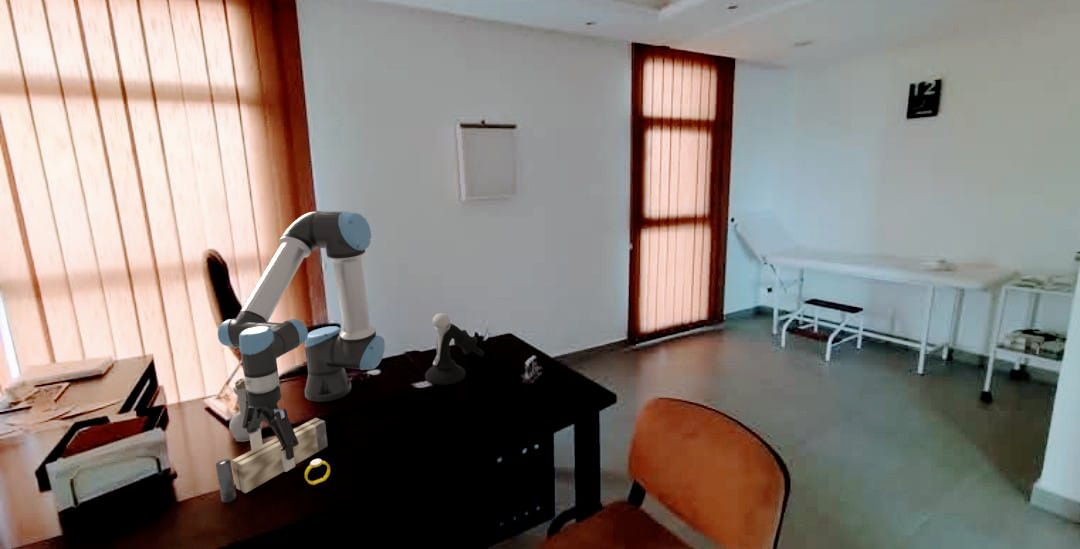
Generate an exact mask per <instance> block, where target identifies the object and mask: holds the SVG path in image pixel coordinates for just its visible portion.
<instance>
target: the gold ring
mask: <svg viewBox="0 0 1080 549" xmlns="http://www.w3.org/2000/svg"><path fill="white" fill-rule="evenodd" d="M321 465H325V466H326V469H327V470H326V473H325V474H324V475H323V477H320V478H318V479H315V480H310V479H309V478H308V475H309V474H310V473H309V472H310V471H311V470H312V469H313V468H317V467H320V466H321ZM330 473H331V466H330V464H329V463H328V462H326V461H325V460H322V459H321V458H315V459H313V460H311V461H310V463H309V465H308V466H307V467H306V469H305V471H304V479H305V481H306V482H307V483H308V484H309V485H311V486H315V485H318V484H319V483H323V482H325V481H326V480H327V479H329V476H330Z"/></svg>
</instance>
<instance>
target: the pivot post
mask: <svg viewBox="0 0 1080 549" xmlns="http://www.w3.org/2000/svg"><path fill="white" fill-rule="evenodd" d="M215 468H216V473H217V474H216V475H217V480H218V486H219V493H220V496H221V497H220V499H221V502H222V503H224V504H225V503H230V502H231V503H232V502H233V501H235V499H237V494H236V486H235V482H234V481H235V480H234V473H233V467H232V461H231V460H230V459H229V458H225V459H221V460H218V461H217V462H216V463H215Z"/></svg>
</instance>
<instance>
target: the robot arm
mask: <svg viewBox="0 0 1080 549" xmlns="http://www.w3.org/2000/svg"><path fill="white" fill-rule="evenodd" d="M369 224H370V223H369V221H368V220H367V218H365V217H364V216H363V215H362V214H361V213H358V212H352V211H351V212H350V211H322V210H321V211H320V210H316V211H310V212H307V213H305V214H303V215H301V216H300V217H298V218H297V219H295V221H293V222H292V223H291V224H290V225H289V226H288V227H287V228H286V229H285V231H284V232H283V234H282V235H281V237H280V238H279V240H278V245H279V247H278V248H277V250H276V252H275V254H273V257H272V258H271V260H270V262H269V264H268V265H267V266H266V268H265V269H264V272H263V273H262V275H261V277H260V278H259V280H258V282H257V283H256V285H255V286H254V288H253V289H252V291H251V293H250V295H249V296H248V297H247V300H246V301H245V302H244V305H243V306H242V308H241V309H240V311H239V313H238V314H237V316H236V318H231V319H230V318H229V319H226V320H225V321H223V322H221V324H220V325H219V327H218V330H217V339H218V340H219V342H220V344H221V345H223V346H226V347H230V348H234V349H239V352H240V359H241V364H242V369H243V375H244V377H243V378H244V379H245V382H244V384H245V385H246V389H247V392H246V399H247V400H246V410H245V415H244V420H243V425H242V426H243V428H244V429H245V428H246V429H247V432H248V433H249V436H250V442H249V443H250V448H251V450H253V449H255V448H257V447H259V446H261V445H263V444H264V443H263V438H262V437H263V436H262V429H261V430H260V429H258V428H260V424H261V422H262V421H263V422H265V423H266V424H267V426H268V427H269V428H271V429H272V431H273V433H274V434H275V436H276V438H278V440H279V442H280V443H281V445H282V447H283V448H281V454H282V461H283V469H284V472H285V473H286V472H288V471H290V470H291V469H293V468H295V467H296V465H295V461H294V451H293V447H295V446H297V445H298V444H299V443H298V440H297V438H296V435H295V433H294V430H293V429H294V428H293V426H292V424H291V421H290V418H289V415H288V410H287V409H286V408H283V409H280V408H279V407H278V403H279V402H280V401H281V399H282V393H281V392H282V391H281V386H280V378H279V376H280V375H279V371H278V362H277V359H278V358H279V357H281V356H284V355H286V354H287V353H288V352H291V351H293V350H295V349H298V347H299V346H300V345H302V344H303V343H304V349H305V357H306V358H305V359H306V365H307V374H308V375H307V378H306V379H307V380H306V383H305V387H304V397H305V398H306V399H307V400H308V401H311V402H316V403H323V402H331V401H335V400H338V399H341V398H343V397H345V396H347V395H348V394H349V393H350V392H351V390H352V383H351V380H350V378H349V376H348V374H347V372H346V369H355V370H361V371H364V370H365V371H366V370H374V369H376V368H377V367H378V366H379V365H380V363H381V361H382V359H383V357H384V353H385V350H386V349H385V347H386V346H385V345H386V344H385V339H384V338H383V337H382V336H381V335H377V331H376V327H375V326H374V325H373V324H371V320H370V314H369V312H370V311H369V307H368V298H367V291H366V283H365V276H364V270H363V261H362V257H363V256H364V255H365V254H366V250H367V248H369V246H370V244H371V239H372V231H371V227H370V225H369ZM315 249H325V251H326V252H325V253H326V256H327V258H328V259H330V260H331V261H332V264H333V270H334V276H335V283H336V289H337V296H338V303H339V310H340V315H341V316H340V317H341V322H342V329H341V327H340V326H337V325H335V326H325V327H324V326H323V327H321V328H317V329H313V330H312V331H310V332H309V331H308V328H307V326H306V324H304V322H303V321H301V320H299V319H296V318H291V319H288V320H285V321H283V322H271V321H269V320H270V319H271V317H272V315H273V313H274V312H275V310H276V309H277V306H278V305H279V302H280V301H281V300H282V297H283V296H284V294H285V292H286V291H287V288H288V287H289V285H290V284H291V281H292V280H293V278H294V277H295V275H296V273H297V271H298V270H299V268H300V266H301V264H302V262H303V260H304V258H309V257H310V255H311V254H312V252H313V251H314V250H315ZM256 429H258V430H256ZM251 450H250V451H251Z"/></svg>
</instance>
